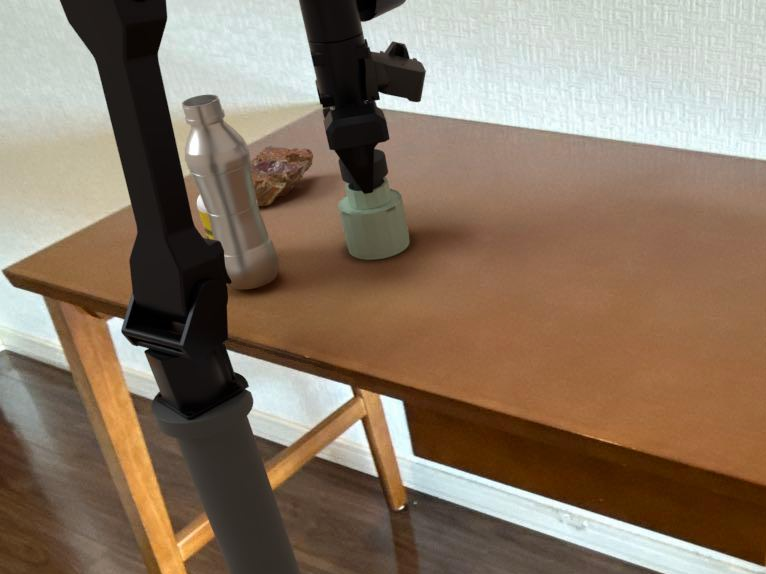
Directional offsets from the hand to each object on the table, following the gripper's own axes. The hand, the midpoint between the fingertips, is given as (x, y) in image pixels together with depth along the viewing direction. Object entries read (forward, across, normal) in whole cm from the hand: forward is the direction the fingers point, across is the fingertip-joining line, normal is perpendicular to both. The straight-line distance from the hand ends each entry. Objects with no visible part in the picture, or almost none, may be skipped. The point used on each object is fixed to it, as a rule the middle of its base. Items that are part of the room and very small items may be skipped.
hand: (366, 184), depth 115 cm
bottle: (+8, 0, 0) cm, 8 cm away
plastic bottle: (+8, -4, +15) cm, 17 cm away
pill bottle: (+8, +2, +16) cm, 18 cm away
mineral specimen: (+8, +22, +11) cm, 26 cm away
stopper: (+2, 0, 0) cm, 2 cm away
